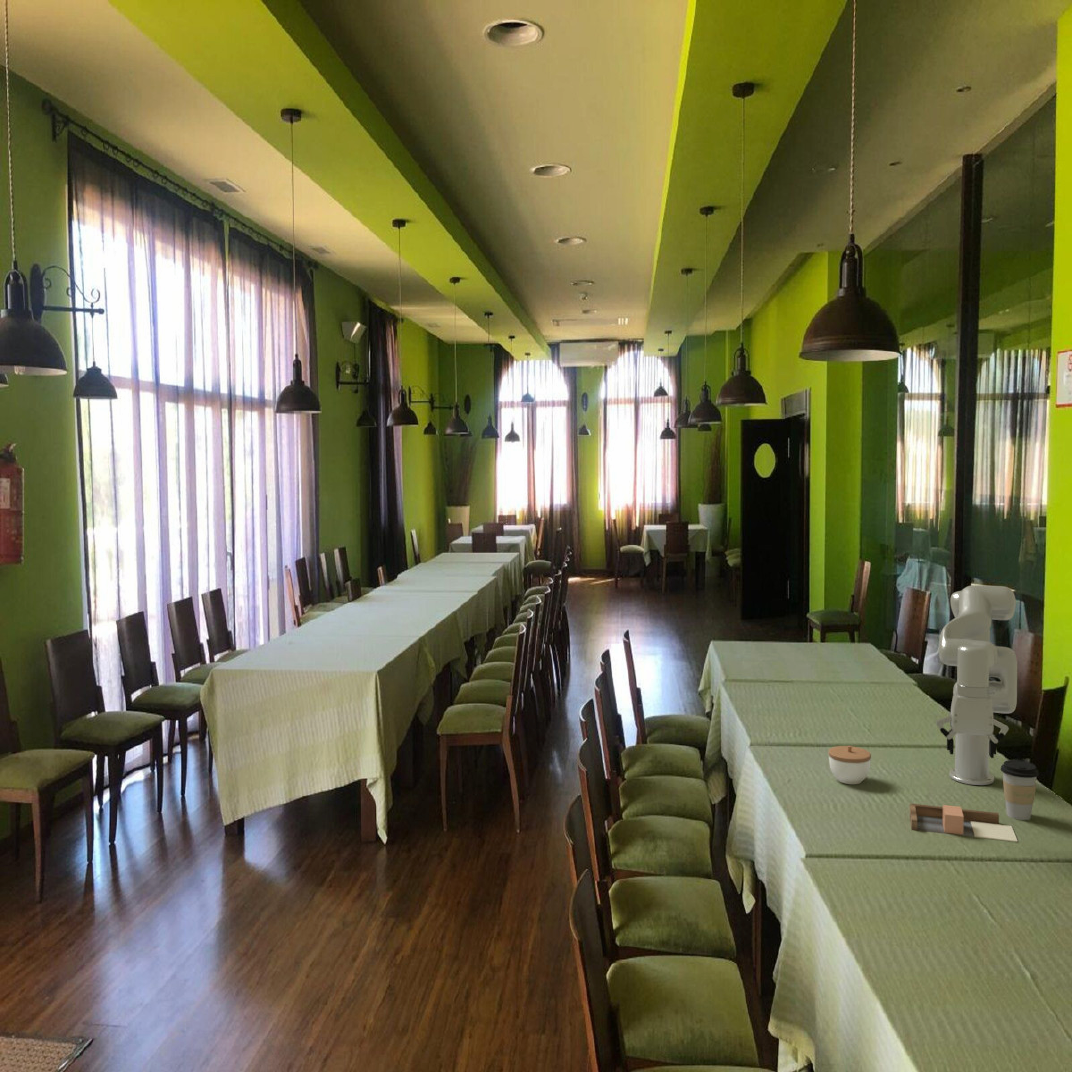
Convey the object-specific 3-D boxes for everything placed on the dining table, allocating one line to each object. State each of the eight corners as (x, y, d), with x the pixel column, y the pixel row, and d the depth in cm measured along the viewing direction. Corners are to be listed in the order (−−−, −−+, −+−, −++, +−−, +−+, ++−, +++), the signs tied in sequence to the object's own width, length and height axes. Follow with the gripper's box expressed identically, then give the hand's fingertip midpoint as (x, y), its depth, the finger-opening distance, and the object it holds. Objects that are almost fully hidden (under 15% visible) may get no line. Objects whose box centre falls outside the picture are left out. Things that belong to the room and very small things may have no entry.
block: (942, 822, 239) (942, 804, 239) (960, 824, 237) (960, 806, 237) (944, 832, 232) (945, 814, 232) (963, 834, 231) (963, 816, 230)
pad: (970, 822, 239) (970, 821, 239) (1011, 826, 235) (1011, 825, 235) (974, 836, 229) (974, 835, 229) (1017, 842, 226) (1017, 841, 226)
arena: (909, 813, 246) (909, 803, 246) (1011, 825, 237) (1011, 814, 237) (911, 830, 235) (911, 819, 235) (1018, 843, 226) (1018, 832, 225)
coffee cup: (1018, 825, 237) (1019, 772, 235) (991, 812, 246) (992, 761, 245) (1045, 821, 239) (1047, 768, 238) (1018, 808, 248) (1019, 757, 247)
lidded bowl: (874, 788, 265) (874, 753, 264) (831, 786, 268) (831, 751, 267) (866, 774, 277) (867, 740, 276) (825, 772, 280) (826, 739, 279)
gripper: (1006, 690, 230) (1005, 753, 231) (935, 686, 236) (934, 747, 237) (1011, 697, 223) (1010, 762, 224) (938, 692, 229) (936, 755, 230)
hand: (971, 754), depth 230 cm, fingers open, 9 cm apart
